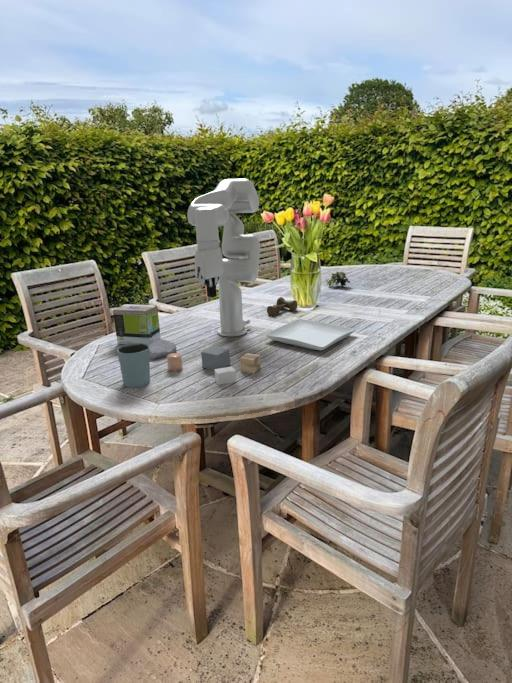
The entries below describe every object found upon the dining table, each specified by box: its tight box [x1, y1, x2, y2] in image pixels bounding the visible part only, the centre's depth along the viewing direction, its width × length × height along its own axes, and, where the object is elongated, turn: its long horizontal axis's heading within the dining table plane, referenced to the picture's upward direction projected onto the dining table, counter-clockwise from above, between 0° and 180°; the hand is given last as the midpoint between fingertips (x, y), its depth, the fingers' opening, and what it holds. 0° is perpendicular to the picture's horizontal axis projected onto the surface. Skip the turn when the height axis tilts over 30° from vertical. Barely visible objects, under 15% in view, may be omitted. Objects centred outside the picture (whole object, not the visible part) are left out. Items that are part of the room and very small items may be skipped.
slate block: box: [200, 345, 231, 371], centre depth 162 cm, size 7×7×6 cm
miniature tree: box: [326, 271, 351, 289], centre depth 272 cm, size 11×11×12 cm
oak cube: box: [239, 352, 261, 374], centre depth 158 cm, size 5×5×5 cm
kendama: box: [266, 296, 298, 317], centre depth 227 cm, size 6×10×20 cm
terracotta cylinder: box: [166, 352, 184, 373], centre depth 161 cm, size 5×5×5 cm
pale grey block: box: [213, 366, 237, 386], centre depth 150 cm, size 6×4×4 cm, turn 110°
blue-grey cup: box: [116, 343, 151, 389], centre depth 150 cm, size 10×10×12 cm
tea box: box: [112, 303, 161, 345], centre depth 188 cm, size 15×10×15 cm, turn 74°
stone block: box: [149, 338, 178, 360], centre depth 176 cm, size 12×5×10 cm
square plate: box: [264, 318, 356, 351], centre depth 187 cm, size 27×27×4 cm
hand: (212, 296), depth 164 cm, fingers closed
